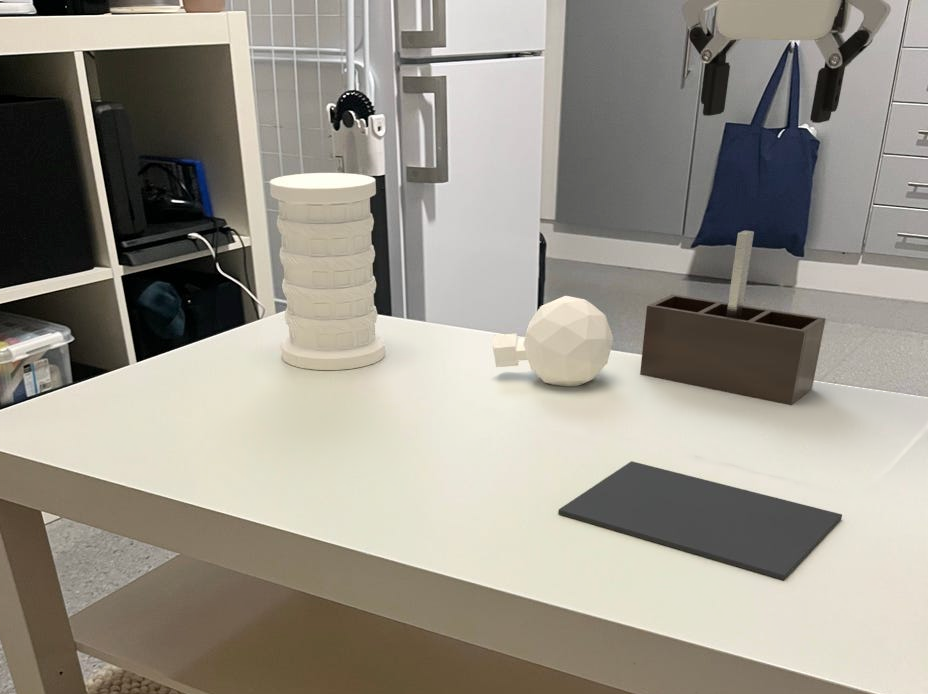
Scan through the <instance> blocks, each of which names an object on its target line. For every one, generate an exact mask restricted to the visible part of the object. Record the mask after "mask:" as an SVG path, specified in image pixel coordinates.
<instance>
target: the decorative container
mask: <svg viewBox="0 0 928 694" xmlns="http://www.w3.org/2000/svg"><path fill="white" fill-rule="evenodd" d="M376 184H377V183H376V178H375V177H373V176H370V175H365V174H359V173H348V172H309V173H307V172H306V173H297V174H288V175H282V176H278V177H275V178H272V179H270V180H269V191H270V197H272V198H273V199H275V200H277V204H278V215H277V217H276V218H277V219H276V227H277V230H278V232H279V234H280V239H281V247H280V249H279V253H278V254H279V255H278V256H279V259H280V263H281V265H282V266H283V275H284V276H283V279H282V283H281V288H282V291H283V295H284V296H285V297H286V298H285V299H286V308H285V312H284V320H285V324H286V325H287V327H288V333H289V337H287V338H286V339H284V340H283V341H282V342H281V345H280V352H281V358H282V360H283V361H284V362H285V363H286V364H288V365H290V366H294V367H297V368H300V369H307V370H313V371H314V370H315V371H341V370H342V371H344V370H353V369H358V368H363V367H366V366H369V365H373V364H376V363H377V362H379V361H381V360H382V359H383V358H384V357H385V356H386V343H385V339H384V338H383V337H382V336H380V335H378V334H376V324H377V319H378V310H377V307H376V305H375V298H374V296H375V293H376V289H377V281H376V277H375V276H374V271H373V270H374V269H373V267H374V265H373V263H374V262H375V257H376V251H375V247H374V245H373V244H372V232H373V229H374V223H375V220H374V216H373V213H372V212H371V198H372V197H374V196H375V195H376V194H377V185H376Z"/></svg>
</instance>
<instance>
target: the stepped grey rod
mask: <svg viewBox="0 0 928 694" xmlns="http://www.w3.org/2000/svg"><path fill="white" fill-rule="evenodd" d="M754 234H755V231H752V230H742V231H740V232H738V233H737V236H736V237H737V238H736V244H735V245H736V246H735V251H734V259H733V266H732V273H731V280H730V287H729V292H728V301H727V303H728V307H727V314H726V317H728V318H734V319H740V320H741V316H742V309H743V305H744V301H745V295H746V287H747V281H748V276H749V268H750V261H751V255H752V248H753V243H754V242H753V241H754V236H755V235H754Z"/></svg>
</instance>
